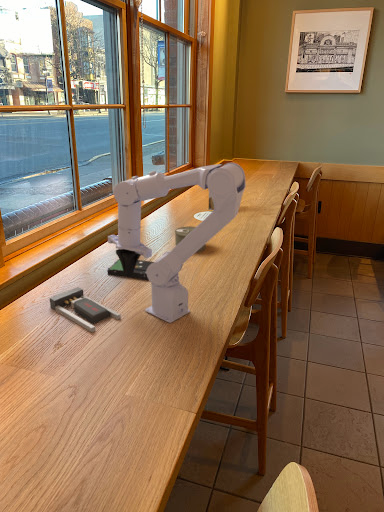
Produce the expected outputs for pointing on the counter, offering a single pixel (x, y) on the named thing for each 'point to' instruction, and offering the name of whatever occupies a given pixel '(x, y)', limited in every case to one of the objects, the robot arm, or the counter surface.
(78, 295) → the dock
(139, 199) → the robot arm
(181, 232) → the can
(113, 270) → the disk drive
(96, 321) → the usb drive
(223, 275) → the counter surface
